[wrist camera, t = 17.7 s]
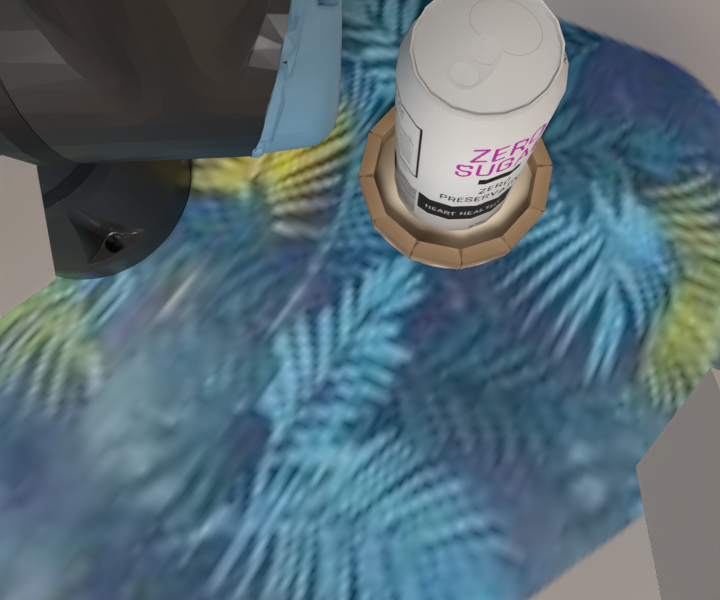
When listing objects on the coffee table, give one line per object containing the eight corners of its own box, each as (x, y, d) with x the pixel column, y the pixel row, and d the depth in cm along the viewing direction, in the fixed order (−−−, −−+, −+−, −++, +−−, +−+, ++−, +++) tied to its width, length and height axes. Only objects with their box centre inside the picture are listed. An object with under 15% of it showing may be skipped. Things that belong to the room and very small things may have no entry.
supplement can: (440, 107, 41) (468, -61, 26) (532, 170, 39) (615, 31, 25) (371, 188, 40) (360, 62, 25) (463, 256, 39) (507, 165, 24)
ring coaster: (345, 248, 40) (342, 240, 38) (384, 88, 42) (383, 71, 40) (524, 285, 39) (532, 278, 37) (555, 118, 41) (563, 103, 39)
